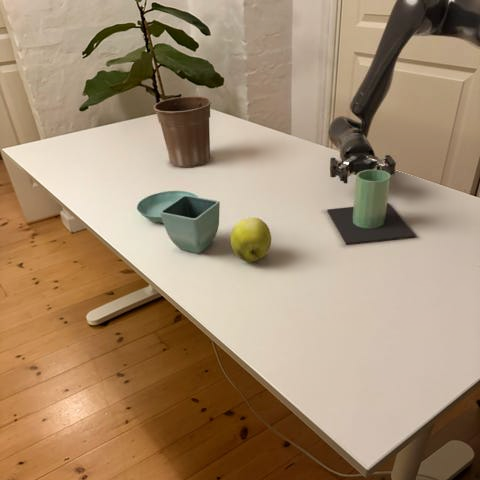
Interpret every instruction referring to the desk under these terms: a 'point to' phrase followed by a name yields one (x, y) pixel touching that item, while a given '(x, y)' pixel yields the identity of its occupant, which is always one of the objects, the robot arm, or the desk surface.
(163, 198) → the saucer
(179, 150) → the plant pot
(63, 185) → the desk surface
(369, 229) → the mat
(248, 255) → the apple
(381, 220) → the cup
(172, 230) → the flower pot
